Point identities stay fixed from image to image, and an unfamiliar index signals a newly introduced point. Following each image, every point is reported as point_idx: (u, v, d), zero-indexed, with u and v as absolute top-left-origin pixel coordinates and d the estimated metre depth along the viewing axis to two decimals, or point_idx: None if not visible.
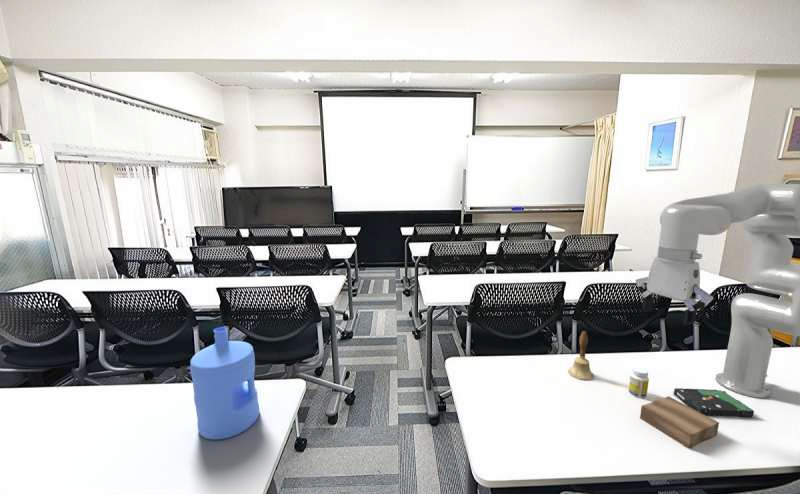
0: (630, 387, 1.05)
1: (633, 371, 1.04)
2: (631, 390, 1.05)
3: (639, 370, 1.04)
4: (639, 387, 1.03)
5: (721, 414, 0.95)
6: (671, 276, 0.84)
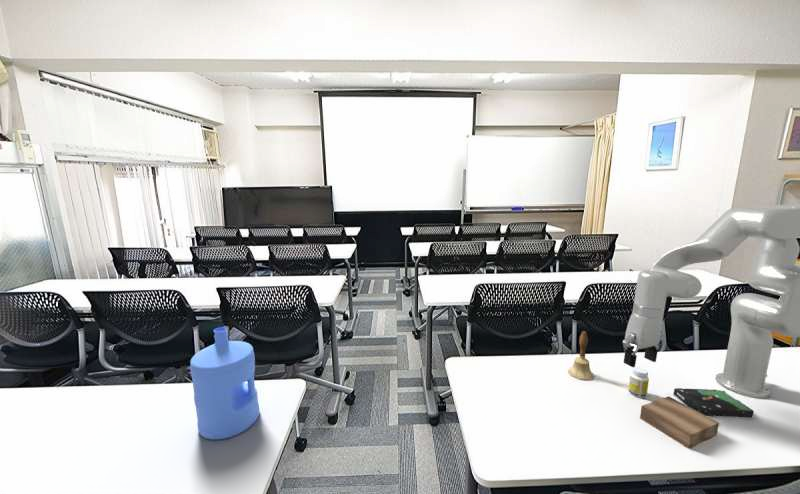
0: (630, 387, 1.05)
1: (633, 371, 1.04)
2: (631, 390, 1.05)
3: (639, 370, 1.04)
4: (639, 387, 1.03)
5: (721, 414, 0.95)
6: (656, 330, 0.99)
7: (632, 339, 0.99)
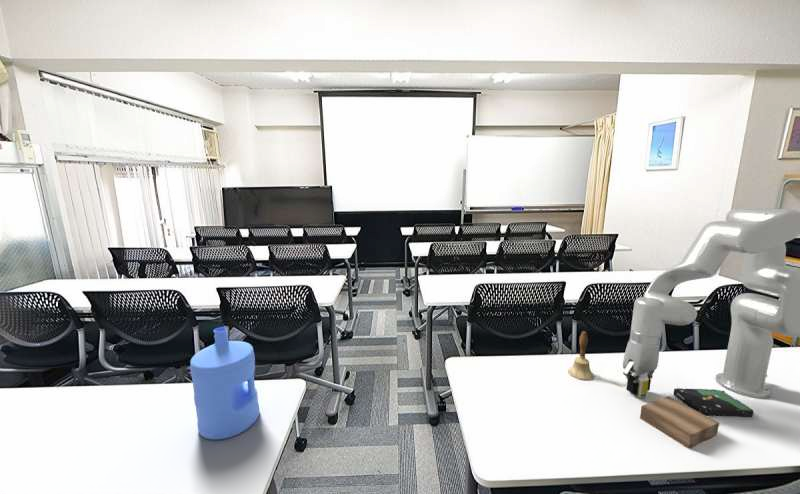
0: None
1: None
2: None
3: None
4: (639, 387, 1.03)
5: (721, 414, 0.95)
6: (653, 356, 1.01)
7: (630, 371, 1.01)
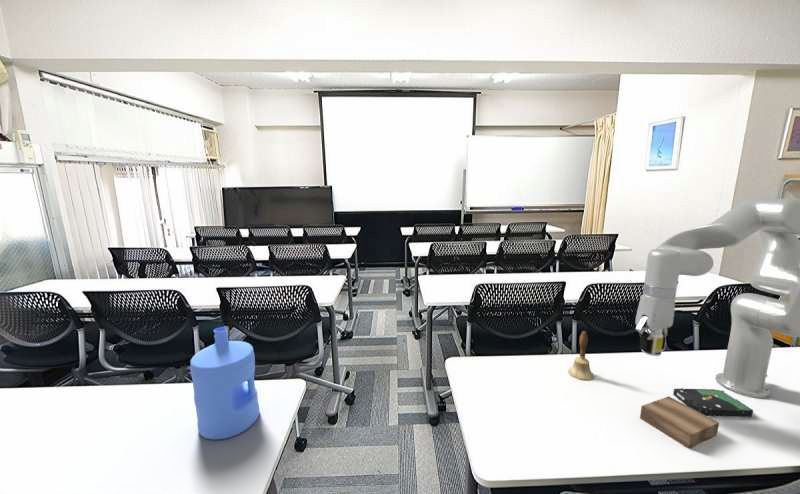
0: None
1: None
2: None
3: None
4: (653, 345, 0.97)
5: (721, 414, 0.95)
6: (668, 310, 0.95)
7: (643, 326, 0.96)
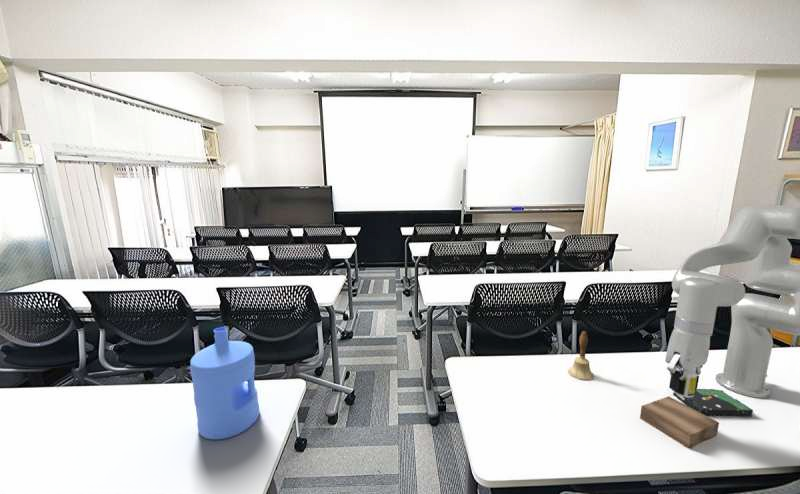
0: None
1: None
2: None
3: None
4: (686, 385, 0.86)
5: (721, 414, 0.95)
6: (703, 347, 0.85)
7: (676, 365, 0.85)
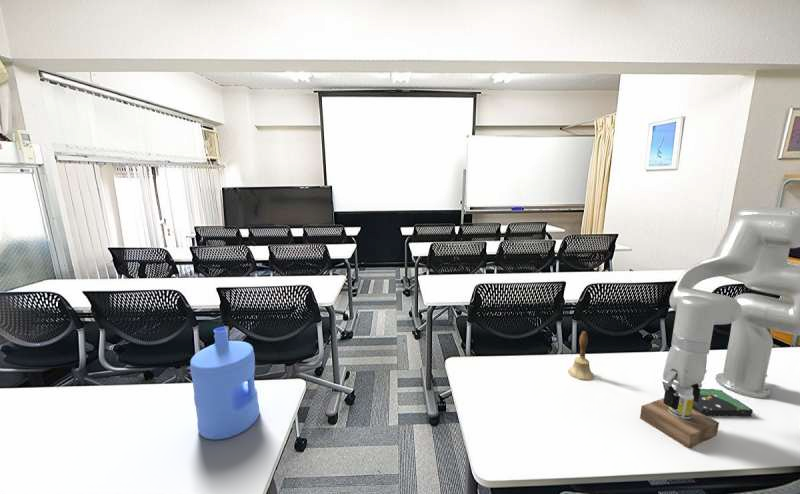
0: None
1: (675, 387, 0.89)
2: (673, 410, 0.89)
3: None
4: (683, 407, 0.88)
5: (721, 414, 0.95)
6: (700, 365, 0.85)
7: (673, 378, 0.85)
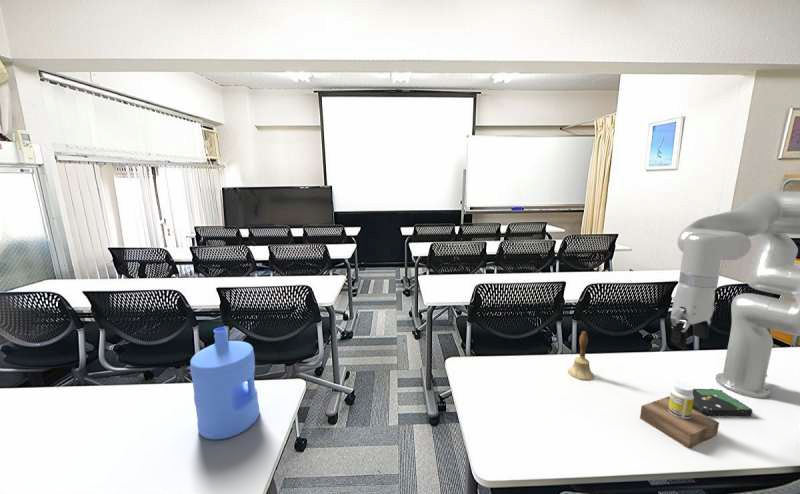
0: (671, 406, 0.90)
1: (675, 387, 0.89)
2: (673, 410, 0.89)
3: (682, 386, 0.89)
4: (683, 407, 0.88)
5: (721, 414, 0.95)
6: (708, 301, 0.85)
7: (682, 314, 0.85)
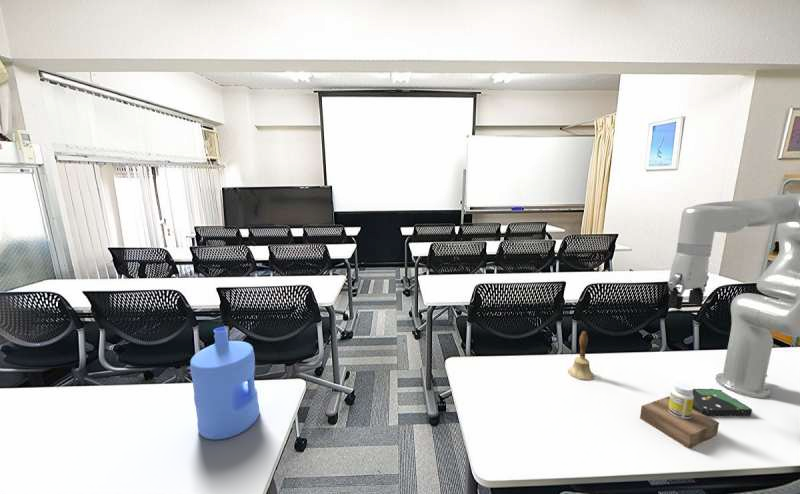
0: (671, 406, 0.90)
1: (675, 387, 0.89)
2: (673, 410, 0.89)
3: (682, 386, 0.89)
4: (683, 407, 0.88)
5: (722, 414, 0.95)
6: (703, 269, 0.94)
7: (678, 279, 0.94)
